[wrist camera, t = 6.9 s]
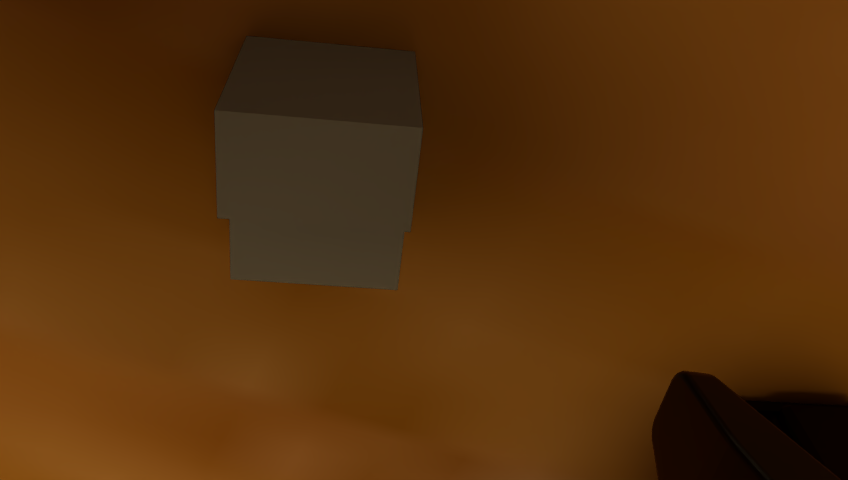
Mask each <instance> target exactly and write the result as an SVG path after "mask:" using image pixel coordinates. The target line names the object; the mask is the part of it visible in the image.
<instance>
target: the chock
mask: <svg viewBox="0 0 848 480" xmlns="http://www.w3.org/2000/svg"><path fill="white" fill-rule="evenodd" d="M214 116H215V153H216V189H217V218H222V219H230V275H231V279H236V280H252V281H267V282H282V283H298V284H313V285H329V286H344V287H359V288H375V289H390V290H398V281H399V273H400V264H401V256H402V247H403V239H404V232H410V231H411V223H412V215H413V207H414V199H415V190H416V182H417V174H418V166H419V158H420V149H421V141H422V133H423V122H422V113H421V103H420V94H419V84H418V75H417V65H416V56H415V52H414V51H403V50H392V49H382V48H371V47H360V46H350V45H339V44H328V43H318V42H307V41H297V40H286V39H275V38H265V37H254V36H246V39H245V41H244V43H243V45H242V48H241V50H240V52H239V55H238V57H237V59H236V62H235V64H234V66H233V68H232V71H231V73H230V75H229V78H228V80H227V82H226V85H225V87H224V89H223V91H222V94H221V96H220V98H219V101H218V103H217V105H216V108H215V110H214Z"/></svg>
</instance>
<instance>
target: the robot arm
mask: <svg viewBox="0 0 848 480" xmlns="http://www.w3.org/2000/svg"><path fill="white" fill-rule="evenodd" d="M652 442H653V449H654V455H655V461H656V468H657V474H658V480H848V406H836V405H818V404H799V403H780V402H762V401H744V400H743V399H742V398H741V397H739V396H738V395H737V394H736V393H735V392H733V391H732V390H731V389H730V388H728V387H727V386H726V385H725V384H724V383H722V382H721V381H720V380H719V379H717V378H716V377H715V376H713V375H710V374H705V373H697V372H689V371H682V372H679V373H677V374H676V375H675V376H674V377H673V379H672V381H671V383H670V385H669V387H668V390H667V392H666V394H665V396H664V399H663V401H662V403H661V405H660V408H659V410H658V412H657V414H656V417H655V419H654V422H653V427H652Z"/></svg>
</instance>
